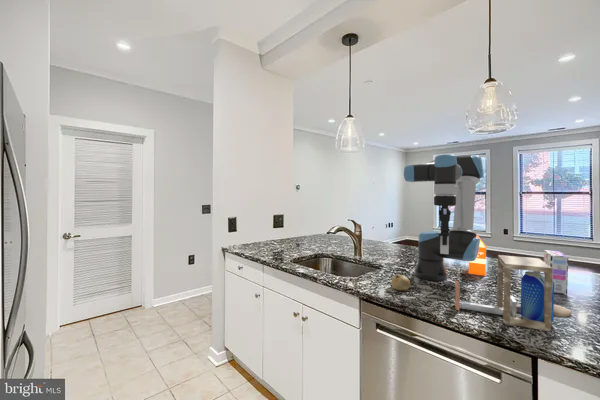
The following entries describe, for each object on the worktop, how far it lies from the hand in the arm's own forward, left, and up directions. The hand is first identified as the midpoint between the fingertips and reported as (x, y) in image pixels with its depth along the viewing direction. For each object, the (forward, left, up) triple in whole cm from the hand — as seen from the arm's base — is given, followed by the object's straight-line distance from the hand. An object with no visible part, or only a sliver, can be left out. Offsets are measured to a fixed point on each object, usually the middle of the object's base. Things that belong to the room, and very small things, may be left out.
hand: (444, 250), depth 107 cm
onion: (-17, +10, -21) cm, 29 cm away
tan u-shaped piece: (+13, -1, -21) cm, 24 cm away
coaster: (+35, +12, -21) cm, 43 cm away
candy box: (+44, +41, -21) cm, 64 cm away
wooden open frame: (+24, -1, -21) cm, 32 cm away
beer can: (+28, -1, -21) cm, 35 cm away
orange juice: (+16, +56, -21) cm, 62 cm away
